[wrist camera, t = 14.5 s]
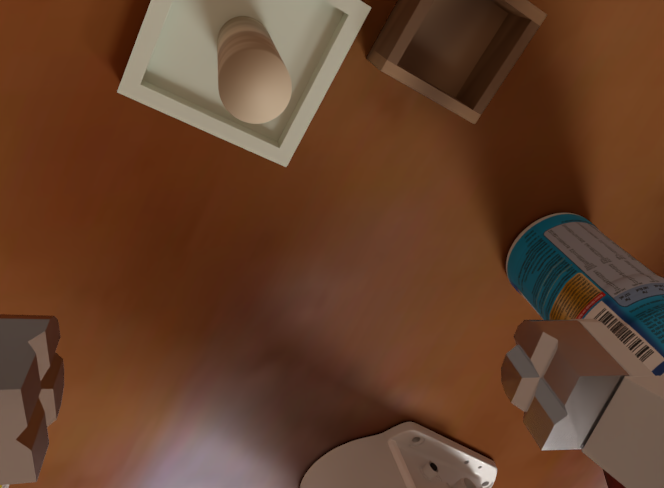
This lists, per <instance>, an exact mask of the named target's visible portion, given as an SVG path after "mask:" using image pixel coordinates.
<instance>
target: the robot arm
mask: <svg viewBox="0 0 664 488" xmlns="http://www.w3.org/2000/svg"><path fill="white" fill-rule="evenodd" d="M514 339H515V342H516V344H517V345H516V346H515V347H514V348H513V349H512V350H510V351H509V352H508V353H507V354H506V356H505V359H504V361H503V364H502V367H501V382H502V385H503V388H504V391H505V393H506V395H507V397H508V398H509V400H510V402H511V403H512V404H514V405H515V406H517V407H518V408H520V409H521V410H522V411H524V417H523V422H524V424H525V425H526V427H527V429H528V430H529V432H530V433H531V435H532V436H533V438H534V440H535V441H536V443H537V444H538V446H539V447H540V449H541V450H569V449H583V450H582V452H583V453H584V454H585V455H587V456H588V457H589V458H590V459H592V460H593V461H594V462H595V463H596V464H598V465H599V466H600V467H601V468H603V469H604V470H605V471H606V472H607V473H609V474H610V475H611V476H612V477H614V478H615V479H616V480H617V481H618V482H620V483H621V484H622V485H623V486H625V487H626V488H664V376H655V375H654V374H653V373H652V372H651V371H650V370H649V369H648V368H647V367H646V366H645V365H644V364H643V363H642V362H641V361H640V360H639V359H638V358H637V357H636V356H635V355H634V354H633V353H632V352H631V351H630V350H629V349H628V348H627V347H626V346H625V345H624V344H623V343H622V342H621V341H620V340H619V339H618V338H617V337H616V336H615V335H614V334H613V333H612V332H611V331H610V330H609V329H608V328H607V327H606V326H605V325H604V324H603V323H602V322H600V321H598V320H596V319H570V320H524V321H523V322H522V323H521V324H520V325H519V326H518V327H517V330H516V332H515V334H514ZM59 340H60V330H59V324H58V320H57V318H56V317H55V316H43V315H7V314H0V485H8V484H19V483H31V482H37V479H38V476H39V473H40V470H41V467H42V464H43V460H44V457H45V454H46V451H47V448H48V445H49V439H48V432H47V427H48V426H49V425H50V424H51V423H53V422H54V421H55V420H56V419H57V416H58V413H59V409H60V406H61V401H62V395H63V388H64V364H63V359H62V358H61V357H60V356H59V355H58V354H57V353H56V352H55V351H56V348H57V345H58V342H59ZM496 475H497V467H496V465H495V462H494V461H492V460H491V459H489V458H487V457H485V456H483V455H480V454H478V453H476V452H474V451H472V450H470V449H468V448H466V447H464V446H462V445H460V444H458V443H456V442H454V441H452V440H450V439H448V438H445V437H443V436H441V435H439V434H437V433H435V432H433V431H431V430H429V429H427V428H425V427H423V426H421V425H419V424H417V423H414V422H405V423H402V424H399V425H397V426H395V427H393V428H391V429H389V430H387V431H385V432H383V433H381V434H378V435H374V436H369V437H365V438H361V439H357V440H354V441H351V442H348V443H346V444H343V445H341V446H339V447H337V448H335V449H333V450H331V451H330V452H328V453H327V454H325V455H324V456H322V457H321V458H320V459H319V460H317V461H316V462H315V463H314V464H313V465H312V466H311V467H310V468H309V470H308V471H307V472H306V474H305V476H304V477H303V479H302V482H301V484H300V488H491V487H492V485H493V483H494V481H495V478H496Z"/></svg>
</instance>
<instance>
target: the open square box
mask: <svg viewBox="0 0 664 488" xmlns="http://www.w3.org/2000/svg"><path fill="white" fill-rule="evenodd" d="M546 16H547V14H546V13H544V12H543V11H542V10H540V9H539V8H537V7H536V6H535V5H533V4H532V3H531V2H529V1H528V0H398V1H397V3H396V5H395V7H394V8H393V10H392V12H391V14H390V16H389V18H388V19H387V21H386V23H385V25H384V27H383V29H382V30H381V32H380V34H379V36H378V38H377V39H376V41H375V43H374V45H373V47H372V49H371V50H370V52H369V54H368V56H367V58H366V59H367V60H369V61H370V62H371V63H372V64H373V65H374V66H376V67H377V68H378V69H379V70H380V71H382V72H384V73H385V74H387V75H389V76H391V77H392V78H394V79H396V80H398V81H399V82H401V83H403V84H405V85H406V86H408V87H410V88H412V89H413V90H415V91H417V92H419V93H420V94H422V95H424V96H426V97H427V98H429V99H431V100H433V101H434V102H436V103H438V104H440V105H441V106H443V107H445V108H447V109H448V110H450V111H452V112H454V113H455V114H457V115H459V116H461V117H462V118H464V119H466V120H468V121H469V122H471V123H473V124H475V123H476V122H477V120H478V119H479V117H480V116H481V114H482V113H483V111H484V110H485V108H486V107H487V105H488V104H489V102H490V101H491V99H492V98H493V96H494V95H495V93H496V92H497V90H498V89H499V87H500V86H501V84H502V83H503V81H504V80H505V78H506V77H507V75H508V74H509V72H510V71H511V69H512V67H513V66H514V64H515V63H516V61H517V60H518V58H519V57H520V55H521V54H522V52H523V51H524V49H525V48H526V46H527V45H528V43H529V42H530V40H531V39H532V37H533V36H534V34H535V33H536V31H537V30H538V28H539V27H540V25H541V24H542V22H543V21H544V19H545V18H546Z"/></svg>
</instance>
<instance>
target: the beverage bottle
mask: <svg viewBox="0 0 664 488" xmlns="http://www.w3.org/2000/svg"><path fill="white" fill-rule="evenodd" d="M506 273H507V276H508V279H509V281H510V283H511V284H512V285H513V287H514V288H515V289H516V290H517V291H518V292H519V293H520V294H521V295H522V296H523V297H524V298H525V299H526V300H527V301H528V302H529V303H530V304H531V306H532V307H533V308H534V309H535V310H536V311H537V313H538V314H539V315H540V316H541V317H542V319H543V320H570V319H596V320H598V321H600V322H602V323H603V324H604V325H605V326H606V327H607V328H608V329H609V330H610V331H611V332H612V333H613V334H614V335H615V336H616V337H617V338H618V339H619V340H620V341H621V342H622V343H623V344H624V345H625V346H626V347H627V348H628V349H629V350H630V351H631V352H632V353H633V354H634V355H635V356H636V357H637V358H638V359H639V360H640V361H641V362H642V363H643V364H644V365H645V366H646V367H647V368H648V369H649V370H650V371H651V372H652V373H653V374H654V375H655V376H664V278H663V277H660V276H657V275H656V274H655V273H653V272H652V271H651V270H649V269H648V268H647V267H645V266H644V265H643V264H641V263H640V262H639V261H637V260H636V259H635V258H634V257H632V256H631V255H630V254H628V253H627V252H626V251H624V250H623V249H622V248H621V247H619V246H618V245H617V244H615V243H614V242H613V241H611V240H610V239H609V238H608V237H606V236H605V235H604V234H603V233H601V232H600V231H599V230H598V229H597V227H596V226H595V225H593V224H592V223H591V222H590V221H588V220H587V219H586V218H584V217H582V216H580V215H577V214H574V213H555V214H551V215H548V216H545V217H543V218H540V219H538V220H537V221H535V222H533V223H532V224H530V225H529V226H528V227H526V228H525V229H524V230H523V231H522V232H521V233H520V234H519V235H518V237H517V238H516V239H515V241H514V242H513V244H512V246H511V248H510V250H509V252H508V255H507V260H506Z"/></svg>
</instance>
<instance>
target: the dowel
mask: <svg viewBox="0 0 664 488" xmlns="http://www.w3.org/2000/svg"><path fill="white" fill-rule="evenodd" d="M217 58H218V90H219V95H220V98H221V101H222V103H223V105H224V106H225V108H226V109H227V110H228V112H229V113H230V114H232V115H233V116H234V117H235V118H237V119H239V120H241V121H244V122H247V123H252V124H260V123H265V122H268V121H271V120H273V119H275V118H276V117H278V116H279V115H280V114H281V113H282V112H283V111H284V110H285V108H286V107H287V105H288V103H289V101H290V97H291V93H292V83H291V78H290V75H289V72H288V70H287V68H286V66H285V64H284V62H283V60H282V59H281V57H280V55H279V53H278V51H277V49H276V47H275V45H274V43H273V41H272V39H271V37H270V35H269V33H268V31H267V30H266V28H265V27H264V26H263V25H262V24H261V23H260V22H259V21H257V20H256V19H254V18H251V17H247V16H238V17H234V18H232V19H230V20H228V21H227V22H226V23H225V24H224V25H223V26H222V28H221V29H220V31H219V34H218V38H217Z"/></svg>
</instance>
